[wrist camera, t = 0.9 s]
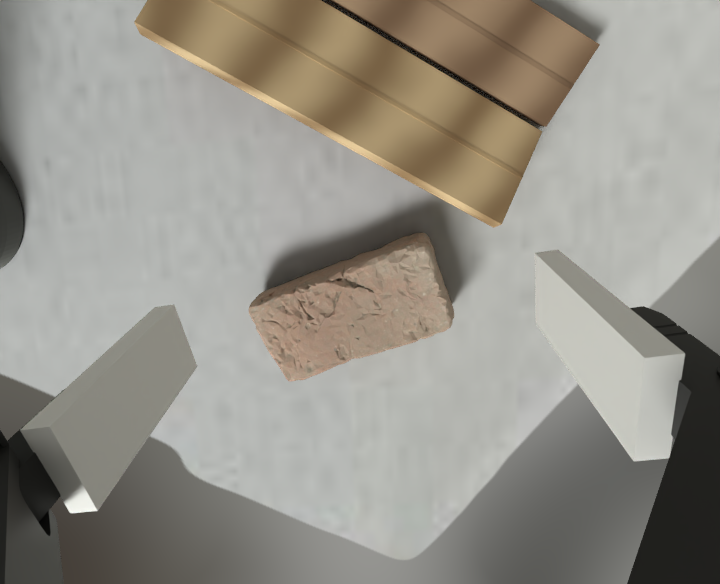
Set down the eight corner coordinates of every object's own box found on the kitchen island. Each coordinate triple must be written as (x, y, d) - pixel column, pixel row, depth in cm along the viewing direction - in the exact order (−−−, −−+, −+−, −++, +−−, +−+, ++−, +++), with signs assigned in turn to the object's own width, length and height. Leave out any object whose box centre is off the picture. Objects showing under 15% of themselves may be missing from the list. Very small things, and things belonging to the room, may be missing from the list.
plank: (140, 34, 29) (134, 21, 28) (197, -60, 30) (193, -76, 29) (493, 227, 33) (501, 224, 31) (533, 138, 34) (542, 131, 32)
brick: (424, 225, 37) (428, 241, 33) (454, 307, 40) (461, 331, 36) (257, 288, 41) (241, 310, 36) (295, 359, 44) (285, 387, 39)
